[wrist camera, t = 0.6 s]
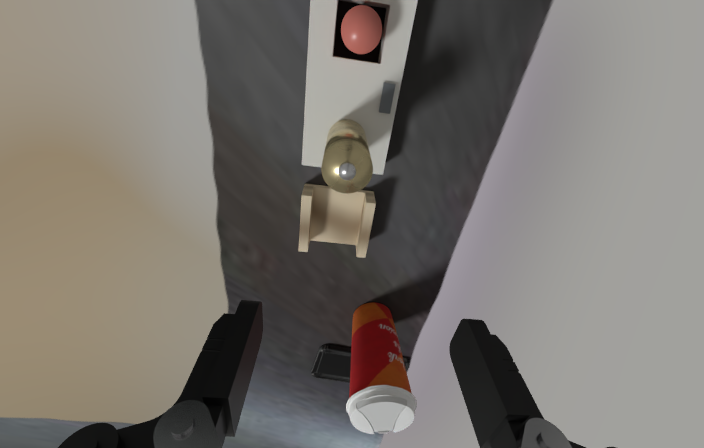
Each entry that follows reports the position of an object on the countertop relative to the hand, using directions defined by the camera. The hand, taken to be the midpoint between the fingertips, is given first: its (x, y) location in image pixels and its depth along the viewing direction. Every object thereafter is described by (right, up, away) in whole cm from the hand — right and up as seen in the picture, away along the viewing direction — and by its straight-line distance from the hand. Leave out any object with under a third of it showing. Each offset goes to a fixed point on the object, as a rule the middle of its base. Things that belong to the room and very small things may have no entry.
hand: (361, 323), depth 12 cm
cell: (-1, +12, +16) cm, 20 cm away
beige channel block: (-2, +5, +23) cm, 23 cm away
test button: (0, +20, +13) cm, 24 cm away
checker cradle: (0, +17, +16) cm, 23 cm away
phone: (+1, -19, +38) cm, 43 cm away
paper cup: (+3, -9, +31) cm, 33 cm away
